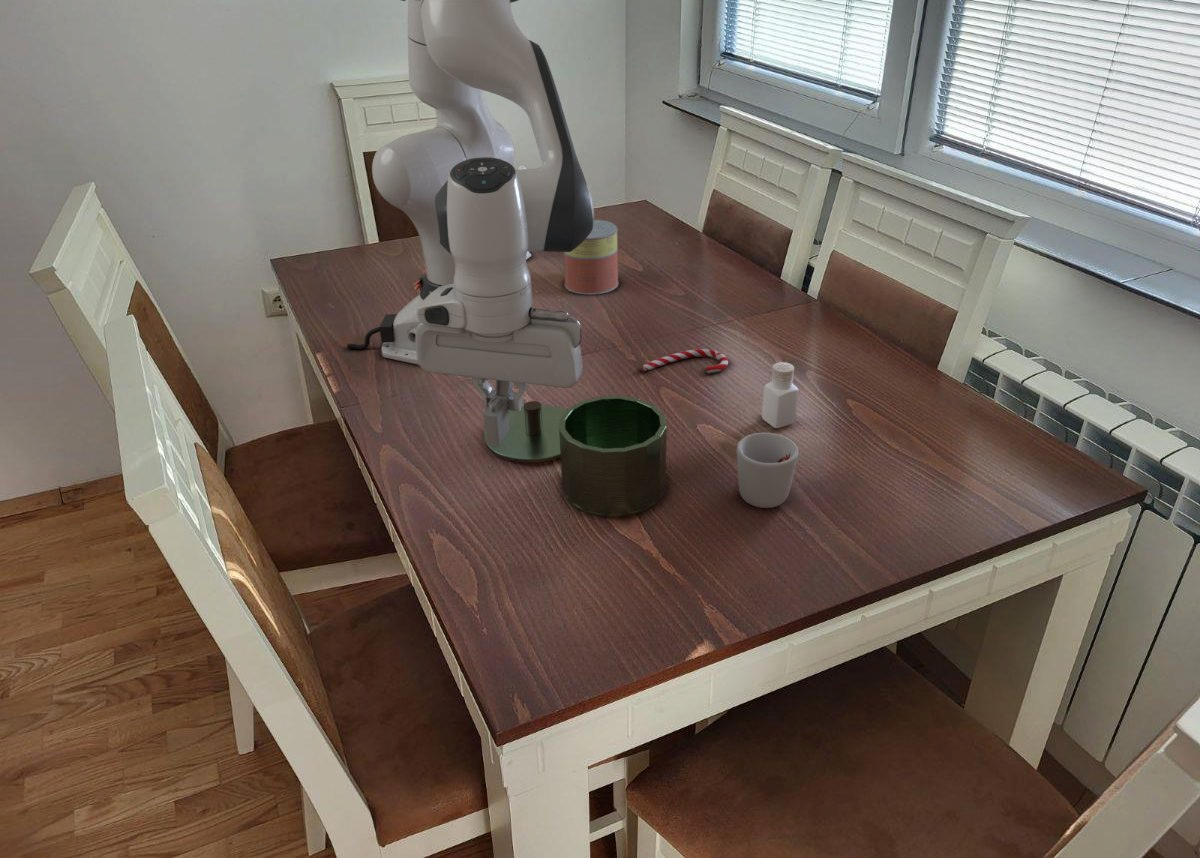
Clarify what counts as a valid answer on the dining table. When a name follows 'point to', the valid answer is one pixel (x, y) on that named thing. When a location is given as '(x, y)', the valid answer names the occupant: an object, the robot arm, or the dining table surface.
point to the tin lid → (531, 434)
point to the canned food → (593, 261)
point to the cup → (765, 468)
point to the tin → (613, 455)
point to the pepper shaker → (780, 397)
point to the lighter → (497, 414)
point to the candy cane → (688, 355)
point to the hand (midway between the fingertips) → (503, 407)
